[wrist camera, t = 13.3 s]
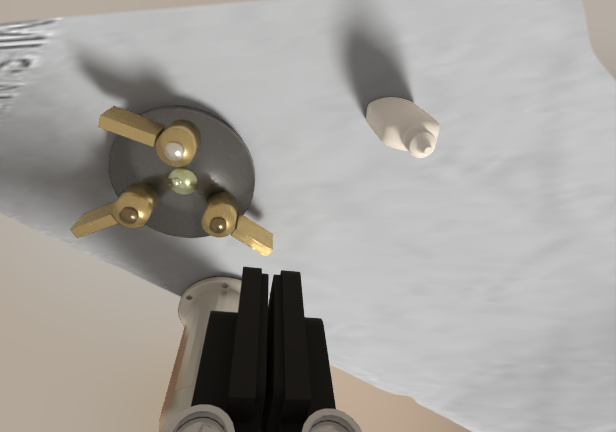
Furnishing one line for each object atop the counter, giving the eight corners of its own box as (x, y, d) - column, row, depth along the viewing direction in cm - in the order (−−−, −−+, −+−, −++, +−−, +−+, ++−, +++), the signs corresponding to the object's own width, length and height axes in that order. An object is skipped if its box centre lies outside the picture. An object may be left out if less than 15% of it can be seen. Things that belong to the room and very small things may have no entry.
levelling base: (282, 164, 43) (282, 173, 41) (207, 251, 49) (204, 263, 47) (158, 73, 37) (151, 78, 35) (89, 184, 43) (79, 194, 40)
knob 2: (147, 177, 41) (133, 197, 37) (164, 203, 43) (153, 224, 39) (78, 203, 42) (58, 224, 38) (98, 227, 44) (81, 250, 40)
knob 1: (205, 127, 38) (197, 142, 35) (196, 156, 40) (187, 174, 36) (117, 93, 36) (98, 105, 32) (111, 126, 38) (92, 141, 34)
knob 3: (201, 208, 43) (194, 229, 39) (218, 186, 42) (212, 206, 38) (261, 244, 47) (259, 267, 43) (278, 226, 46) (278, 247, 42)
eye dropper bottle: (397, 140, 43) (435, 186, 32) (358, 116, 41) (386, 156, 31) (421, 107, 41) (470, 145, 31) (381, 81, 39) (419, 111, 29)
